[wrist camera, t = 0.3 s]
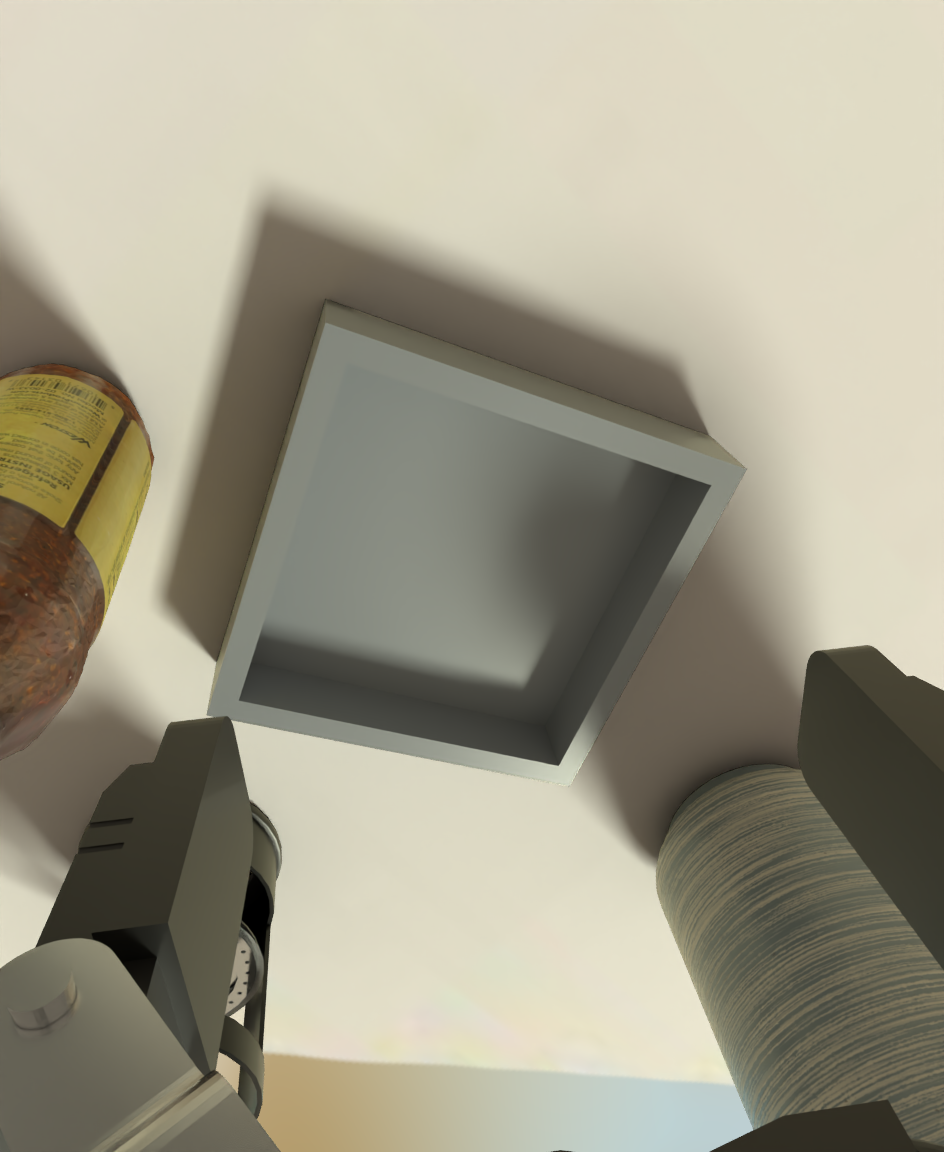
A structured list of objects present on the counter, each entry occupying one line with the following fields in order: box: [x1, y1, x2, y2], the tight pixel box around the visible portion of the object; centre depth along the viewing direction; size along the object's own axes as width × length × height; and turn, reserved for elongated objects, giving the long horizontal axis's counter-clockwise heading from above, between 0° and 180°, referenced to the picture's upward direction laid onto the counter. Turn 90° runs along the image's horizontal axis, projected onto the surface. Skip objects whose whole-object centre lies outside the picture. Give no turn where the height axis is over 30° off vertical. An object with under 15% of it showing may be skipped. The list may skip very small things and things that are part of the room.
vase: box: [656, 764, 944, 1145], centre depth 36 cm, size 12×12×23 cm
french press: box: [78, 803, 282, 1119], centre depth 32 cm, size 12×9×23 cm
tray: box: [207, 299, 747, 787], centre depth 34 cm, size 16×16×4 cm
